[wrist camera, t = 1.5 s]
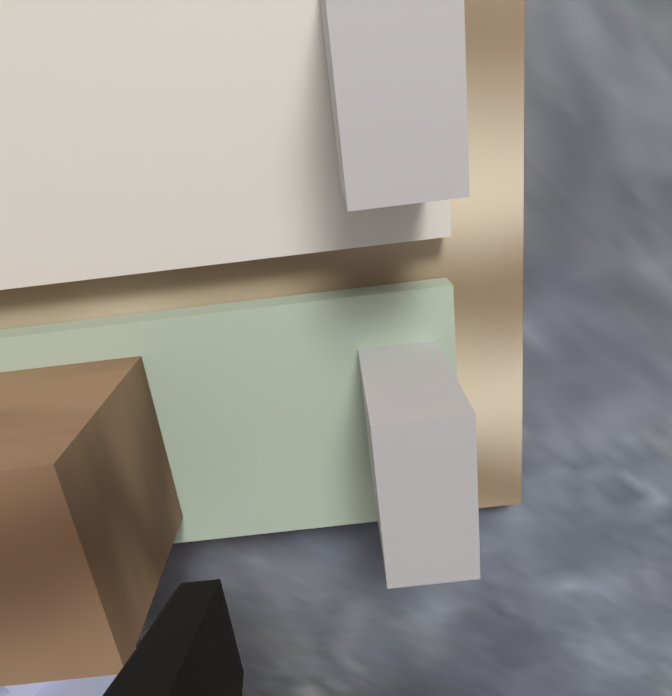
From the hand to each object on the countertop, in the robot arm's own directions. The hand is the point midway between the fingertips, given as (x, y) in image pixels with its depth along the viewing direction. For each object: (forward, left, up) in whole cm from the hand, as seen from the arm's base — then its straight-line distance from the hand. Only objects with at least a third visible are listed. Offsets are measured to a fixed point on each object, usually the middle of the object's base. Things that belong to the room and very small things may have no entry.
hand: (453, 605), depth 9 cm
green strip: (0, +5, -8) cm, 9 cm away
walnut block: (0, +9, -7) cm, 11 cm away
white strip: (+8, +5, -8) cm, 12 cm away
